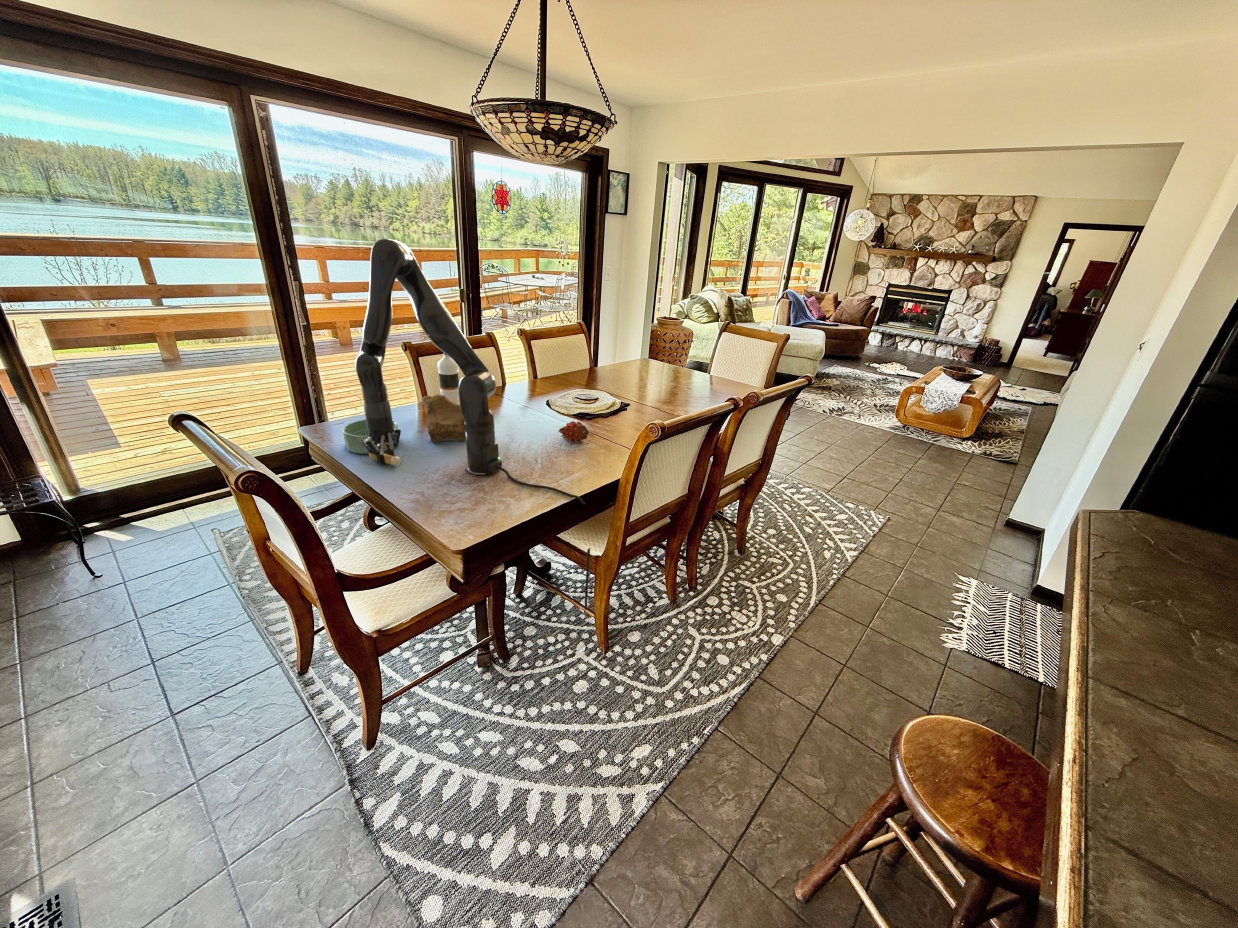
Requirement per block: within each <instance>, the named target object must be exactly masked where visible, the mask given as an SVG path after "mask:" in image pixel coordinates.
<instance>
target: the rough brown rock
mask: <svg viewBox="0 0 1238 928" xmlns="http://www.w3.org/2000/svg"><path fill="white" fill-rule="evenodd" d="M421 403H422V406H423V408H424V411H425V417H426V425H427V426H426V427H427V434H428V437H429V438H430V439H429V440H430V441H431V442H432V443H436V442H439V443H440V442H444V441H456V442H457V441H458V442H466V436H465V424H464V417H463V415H462V413H461V409H460V405H458V404H456V403H453V402H451V401H450V400H449V399H448V398H447V397H446V396H444V395H441V394H435V395H432V396H431V395H425V396H423V397H421Z"/></svg>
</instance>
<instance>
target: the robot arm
mask: <svg viewBox="0 0 1238 928" xmlns="http://www.w3.org/2000/svg"><path fill="white" fill-rule="evenodd" d="M370 251H371V252H370V262H369V263H370V265H369V267H370V271H369V272H370V273H369V288H368V300H367V307H366V313H365V317H364V322H363V327H362V331H361V332H362V333H361V337H362V340H361V344H360V349H359V353H358V355H357V356H356V358H355V362H354V364H355V365H354V366H355V372H356V375H357V378H358V382H359V384H360V387H361V394H362V400H363V411H364V416H365V419H366V422H367V427H368V429H369V437H368V438H367V439H366V440H362V443H363V444H364V446H365V447H366V449H367V450H368V451H369V453H370V454H373V455H376V457H377V460H376V462H377V464H379V465H381V466H384V465H386V463H385V461H384V454H383V448H384V444H385V446H386V449H387V450H386V451H385V454H388V455H392V456H395V452H394V450H395V448H398V447H399V444H400V440H401V439H400V438H401V435H402V430H401V429H400V428H398V429H396V428H393V427H392V426H393V421H394V420H393V413H392V408H391V404H390V400H389V395H388V389H387V385H386V383H385V382H384V378H383V370H382V368H383V365H384V363H385V357H386V349H387V343H388V341H389V338H390V337H389V336H390V332H391V328H392V323H393V304H392V303H393V302H392V300H393V299H392V295H393V288H394V284H395V282H396V280H397V281H398V283H399V284H400V285H401V287H402V288H403V289H404V291H405V293H406V294H407V296H408V298H409V301H410V304H411V307H412V310H413V313H414V316H415V318H416V321H417V323H418V324H419V326H420V328H421V329H422V331H423V332H424V334H425V335H426V337H427V338H428V339H429V341H430V342H431V343H432V344H433V345H434V346H435V347H436V348H437V349H439V350H440V351H441V352H442V353H443V352H444V353H445V354H447V355H448V356H449V357H450V358H452V359H453V360H454V361H455V362H456V364H457V365H458V369H459V370H460V371H461V372H462V374H463V375H464V376H463V377H461V378H460V379H459V386H458V393H459V401H460V409H461V413H462V415H463V417H464V424H465V436H466V441H465V446H466V459H467V472H468V473H469V474H471V475H474V476H486V477H489V476H490V475H492V474H494V473H496V472H497V471H499V470H500V471H502V472H503V473H504V474H505V475H506V476H507V478H509V480H511V481H512V482H513V483H516V484H518V485H521V486H525V487H529V488H536V489H546V490H550V491H553V492H556V493H559V494H562V495H564V496H566V497H569V498H574V499H577V500H578V501H579V502H580V503H581V504H582V505H586V502H585V501H584V500H583V498H582V497H580V496H579V495H577V494H572V493H568V492H566V491H564V490H561V489H558V488H556V487H552V486H549V485H548V486H547V485H542V484H541V485H540V484H533V483H528V482H524V481H521V480H518V479H516V478H514V477H513V476H512V475H510V473H509V471H507V470H506V469H505V468H504V467H503V460H502V459H500V455H499V443H498V442H496V429H495V428H496V427H495V426H496V425H495V414H494V412H493V410H490V408H489V398H490V397H491V396H492V395H494V394H495V392H496V390H497V383H496V379H495V377H494V375H493V373H491V371H490V370H489V368H487V366H486V365H485V363H484V362H483V361H482V360H481V358H480V357H479V356H478V354H477V353H476V352H475V350H474V349H473V348H472V346H471V345H470V343H469V341H468V339H467V338H466V337H465V335H464V334H463V332H462V331H461V329H460V327H459V326H458V325H457V322H456V320H455V319H454V318H453V316H452V315H451V313H450V312H449V310H448V309H447V307H446V306H445V304H444V303H443V302H442V300H441V299H440V297H439V296H438V294H437V293H436V291H435V290H434V288H433V287H432V286H431V284H430V283H429V282H428V280H427V278H426V276H425V274H424V273H423V271H422V269H421V266H420V265H419V263H418V261H417V259H416V257H415V256H414V253H413V252H412V250H411V249H410V247H409V246H407V245H406V244H405V243H403V242H401V241H398V240H395V239H391V238H381V239H380V238H379V239H378V240H376V241H375V242H374V243H373V245H372V247H371V250H370ZM444 353H443V354H444ZM372 440H373V443H372ZM394 441H395V443H394ZM372 444H373V445H372ZM379 444H380V445H379ZM590 560H591V547H589V548H587V551H586V569H585V570H586V572H585V586H584V587H585V588H584V611H587V610H588V595H589V594H588V593H589V577H590V564H591V563H590V562H591V561H590Z"/></svg>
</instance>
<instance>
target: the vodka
mask: <svg viewBox="0 0 1238 928" xmlns="http://www.w3.org/2000/svg"><path fill="white" fill-rule="evenodd" d="M442 353H443V357H442V358H441V359H439V360H438V362H437V363H436V368H437V373H438V382H439V383H438V384H439V392H440V395H444V396H446V397H447V398H448V399H449V400H450V401H451V402H453V403H456V404H458V405H460V401H459V393H458V386H459V382H460V375H459V374H460V373H459V371H460V369H459V366H458V365H457V364H456V362H455V361H454V360H453V359H452V358H450V357H449V356H448V355H447V354H445V353H444V352H443V351H442Z"/></svg>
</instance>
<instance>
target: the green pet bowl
mask: <svg viewBox="0 0 1238 928" xmlns="http://www.w3.org/2000/svg"><path fill="white" fill-rule="evenodd" d="M392 421H393V426H392V427H393V428H396V429H399V428H398V424H397V422H396V421H394V420H392ZM342 434H343V435H342V436H343V440H344V445H345V448H346V450H347V451H349V452H351V453H354V454H362V455H363V454H365V455H366V454H368V455H369V451H368V450H367V449H366V447H365V446H364V444H363V443H362V440H366V439H367V438H368V437H369V429H368V427H367V422H366V418H365V419H360V420H356V421H353V422H352V421H351V422H350V423H348V424H346V425H344V427H342ZM372 443H373V440H372ZM394 443H395V441H394ZM372 445H373V444H372ZM379 445H380V444H379ZM386 450H387V449H386V446H385V444H384V448H383V451H384V452H386Z"/></svg>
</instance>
